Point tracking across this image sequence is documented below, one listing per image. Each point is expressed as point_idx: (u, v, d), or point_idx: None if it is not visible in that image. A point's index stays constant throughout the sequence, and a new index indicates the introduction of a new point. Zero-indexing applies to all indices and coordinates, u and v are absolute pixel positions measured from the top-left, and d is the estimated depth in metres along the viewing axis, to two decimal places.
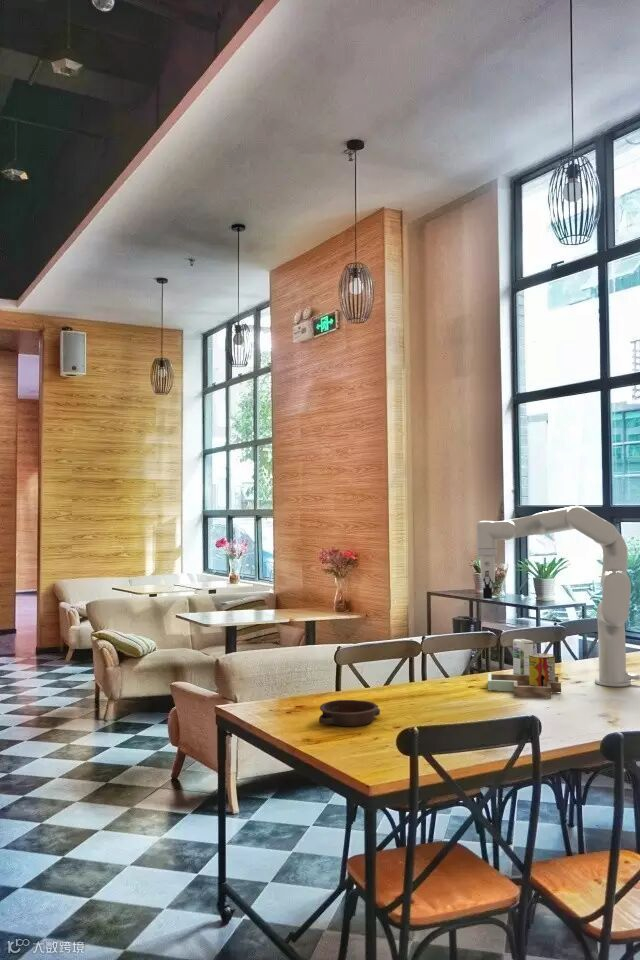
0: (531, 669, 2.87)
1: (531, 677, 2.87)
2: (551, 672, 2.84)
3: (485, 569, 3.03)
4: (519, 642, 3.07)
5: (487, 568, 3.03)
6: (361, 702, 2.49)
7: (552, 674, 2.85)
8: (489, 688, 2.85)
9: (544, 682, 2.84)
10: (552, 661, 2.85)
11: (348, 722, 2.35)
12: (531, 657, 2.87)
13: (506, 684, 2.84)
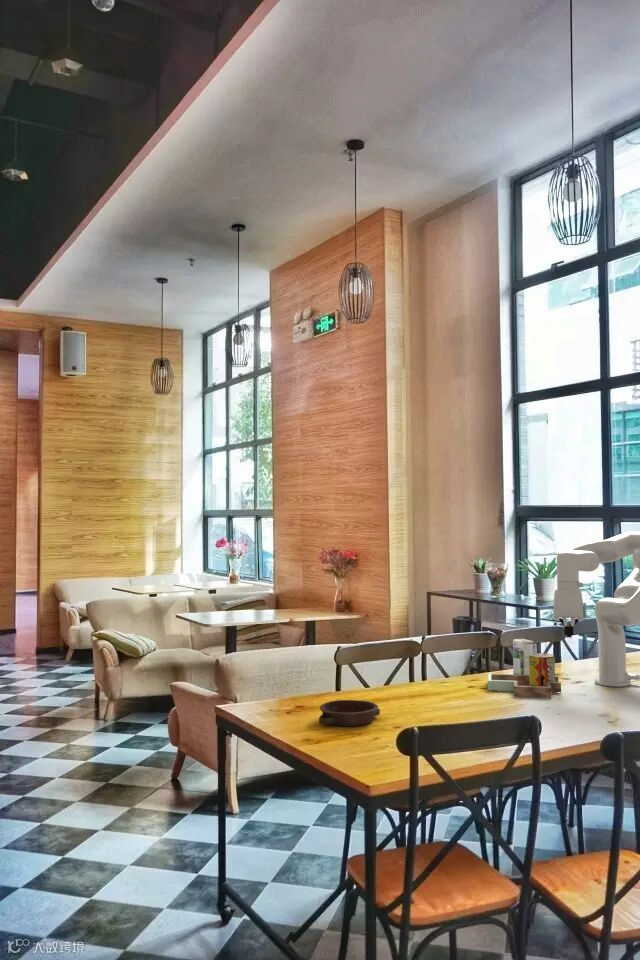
0: (531, 669, 2.87)
1: (531, 677, 2.87)
2: (551, 672, 2.84)
3: (582, 603, 2.86)
4: (519, 642, 3.07)
5: None
6: (361, 702, 2.49)
7: (552, 674, 2.85)
8: (489, 688, 2.85)
9: (544, 682, 2.84)
10: (552, 661, 2.85)
11: (348, 722, 2.35)
12: (531, 657, 2.87)
13: (506, 684, 2.84)
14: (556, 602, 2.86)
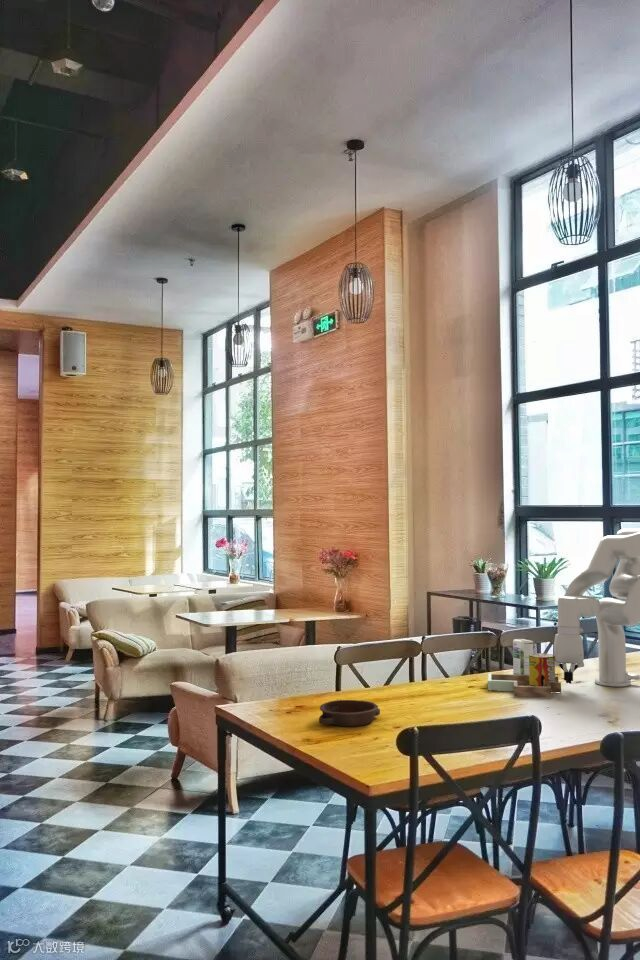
0: (531, 669, 2.87)
1: (531, 677, 2.87)
2: (551, 672, 2.84)
3: None
4: (519, 642, 3.07)
5: None
6: (361, 702, 2.49)
7: (552, 674, 2.85)
8: (489, 688, 2.85)
9: (544, 682, 2.84)
10: (552, 661, 2.85)
11: (348, 722, 2.35)
12: (531, 657, 2.87)
13: (506, 684, 2.84)
14: (556, 647, 2.85)
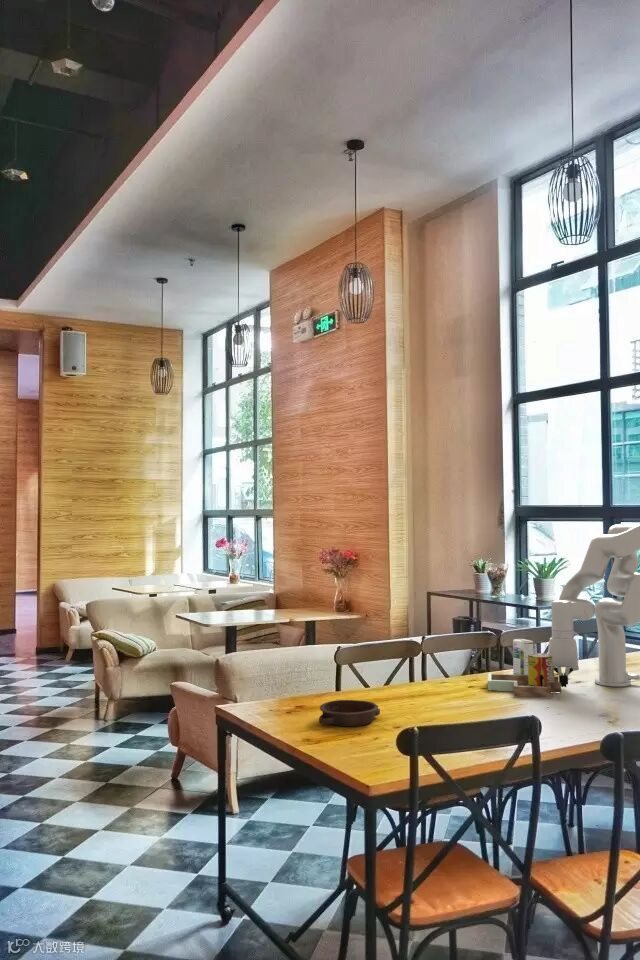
0: (530, 669, 2.87)
1: (530, 677, 2.87)
2: (550, 672, 2.84)
3: (577, 652, 2.85)
4: (519, 642, 3.07)
5: None
6: (361, 702, 2.49)
7: (551, 674, 2.85)
8: (489, 688, 2.85)
9: (543, 682, 2.84)
10: (551, 661, 2.85)
11: (348, 722, 2.35)
12: (530, 657, 2.87)
13: (506, 684, 2.84)
14: (550, 652, 2.86)
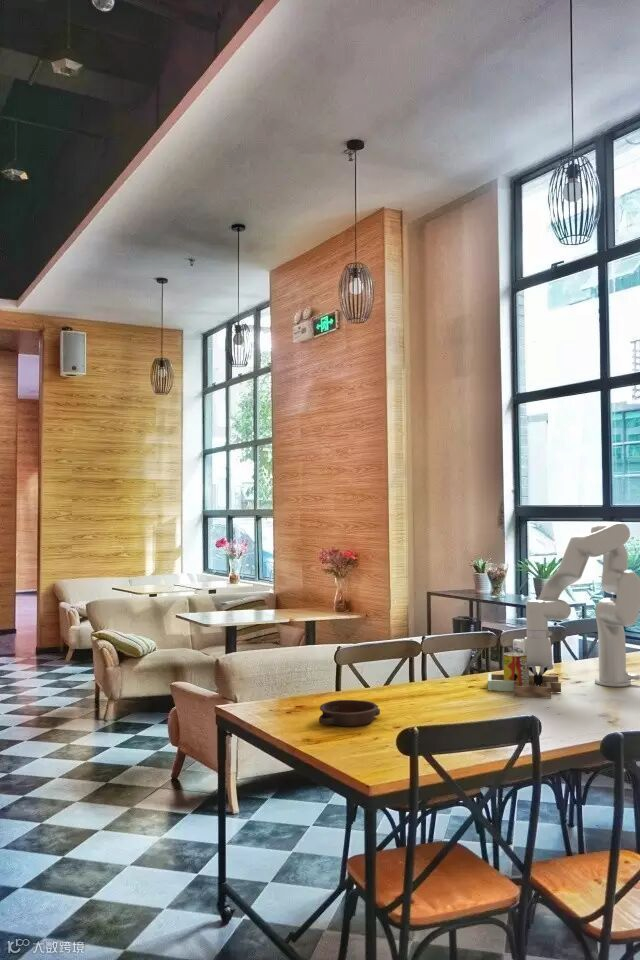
0: (505, 668, 2.89)
1: (505, 676, 2.89)
2: (524, 671, 2.86)
3: (551, 651, 2.87)
4: (519, 642, 3.07)
5: None
6: (361, 702, 2.49)
7: (525, 673, 2.87)
8: (489, 688, 2.85)
9: (517, 681, 2.86)
10: (525, 660, 2.87)
11: (348, 722, 2.35)
12: (505, 656, 2.89)
13: (506, 684, 2.84)
14: (525, 651, 2.88)
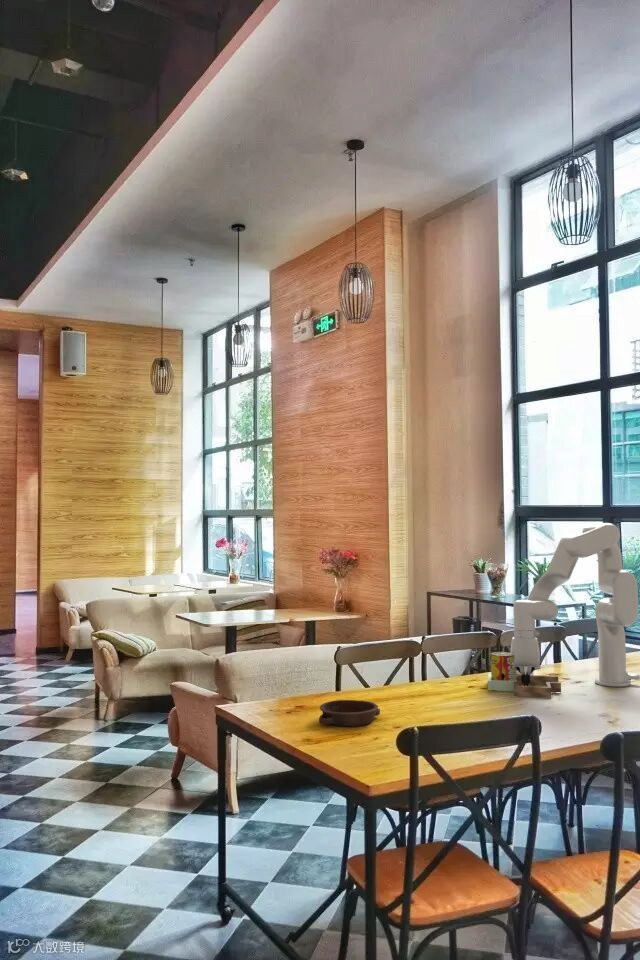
0: (492, 667, 2.90)
1: (492, 675, 2.90)
2: (512, 671, 2.87)
3: None
4: None
5: None
6: (361, 702, 2.49)
7: (513, 673, 2.88)
8: (489, 688, 2.85)
9: None
10: (513, 660, 2.88)
11: (348, 722, 2.35)
12: (492, 656, 2.90)
13: (506, 684, 2.84)
14: (512, 651, 2.89)
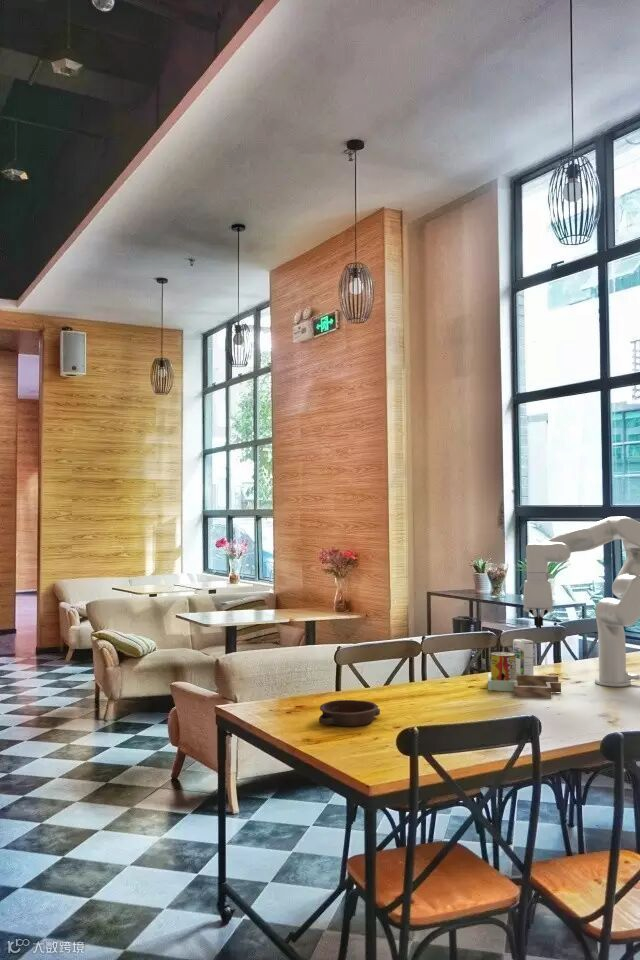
0: (492, 667, 2.90)
1: (492, 675, 2.90)
2: (512, 671, 2.87)
3: None
4: (519, 642, 3.07)
5: None
6: (361, 702, 2.49)
7: (513, 673, 2.88)
8: (489, 688, 2.85)
9: None
10: (513, 660, 2.88)
11: (348, 722, 2.35)
12: (492, 656, 2.90)
13: (506, 684, 2.84)
14: (525, 593, 2.89)
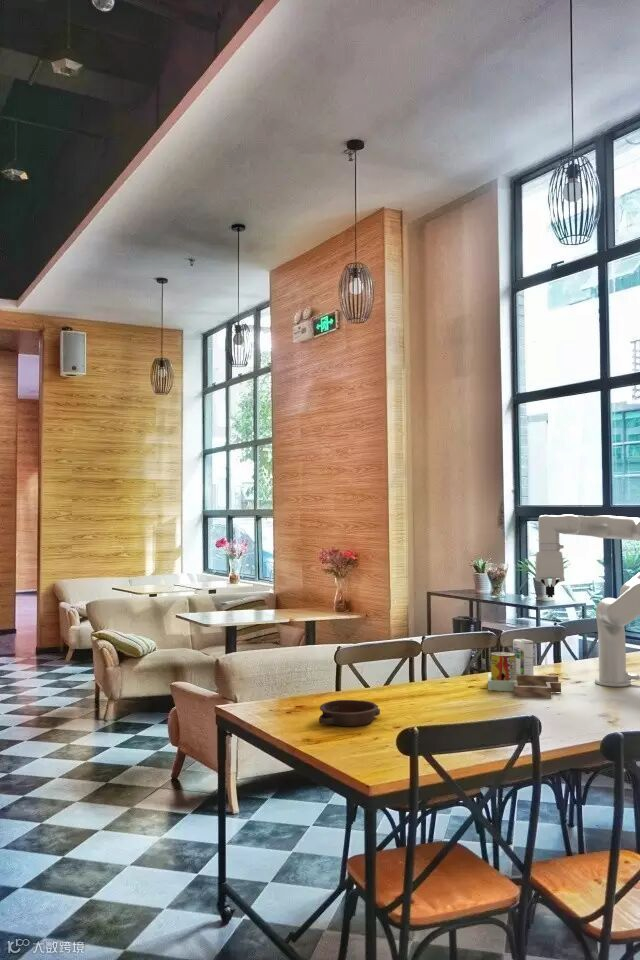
0: (492, 667, 2.90)
1: (492, 675, 2.90)
2: (512, 671, 2.87)
3: None
4: (519, 642, 3.07)
5: None
6: (361, 702, 2.49)
7: (513, 673, 2.88)
8: (489, 688, 2.85)
9: None
10: (513, 660, 2.88)
11: (348, 722, 2.35)
12: (492, 656, 2.90)
13: (506, 684, 2.84)
14: (537, 564, 2.98)
